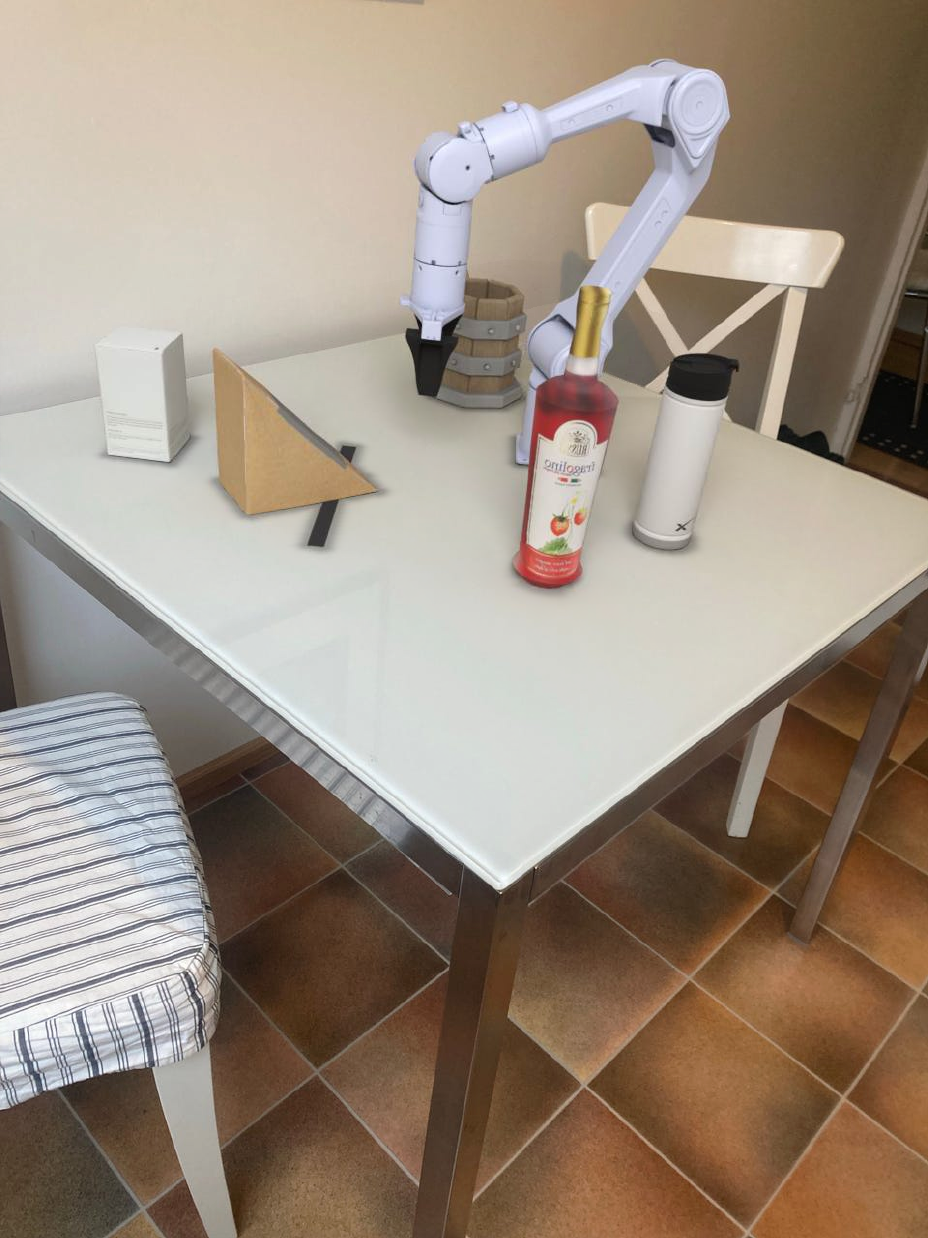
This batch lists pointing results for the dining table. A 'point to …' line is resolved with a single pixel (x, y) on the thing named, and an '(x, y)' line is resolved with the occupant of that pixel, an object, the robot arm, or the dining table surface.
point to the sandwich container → (273, 449)
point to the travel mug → (682, 448)
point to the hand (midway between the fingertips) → (430, 382)
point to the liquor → (567, 453)
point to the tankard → (486, 347)
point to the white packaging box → (143, 392)
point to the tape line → (327, 510)
